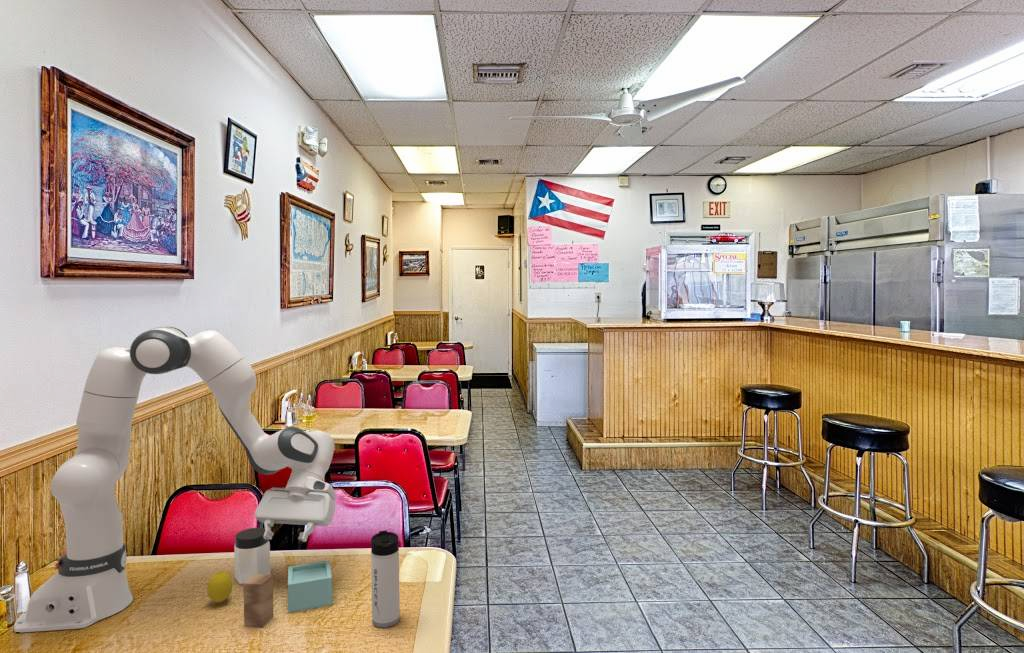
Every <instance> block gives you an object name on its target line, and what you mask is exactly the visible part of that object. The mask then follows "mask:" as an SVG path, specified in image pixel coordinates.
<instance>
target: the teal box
mask: <svg viewBox="0 0 1024 653" xmlns="http://www.w3.org/2000/svg"><path fill="white" fill-rule="evenodd" d="M287 568H288V569H287V607H288V609H287V610H288V613H289V612H290V613H294V612H295V611H296V612H300V611H306V610H312V609H317V607H318V608H323V607H327V605H329V606H332V605H333V577H332V569H331V562H330V560H321V561H316V562H310V563H306V564H305V563H304V564H298V565H292V566H288V567H287ZM331 604H332V605H331ZM290 613H289V614H290Z"/></svg>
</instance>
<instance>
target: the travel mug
mask: <svg viewBox="0 0 1024 653" xmlns="http://www.w3.org/2000/svg"><path fill="white" fill-rule="evenodd" d="M370 544H371V545H370V547H371V548H370V549H371V550H370V556H371V557H370V563H371V565H370V566H371V567H370V568H371V569H370V570H371V575H370V576H371V618H372V620H371V622H372V625H373V626H375V627H378V628H381V629H382V628H384V629H385V628H390V627H392V626H394V625H396V624H397V623H399V621H400V617H401V616H400V615H401V614H400V613H401V612H400V606H401V605H400V604H401V602H400V549H399V535H398V534H396V533H395V532H392V531H387V530H379V531H378V533H376V534H374V535H373V536H372V537H371V539H370Z"/></svg>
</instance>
